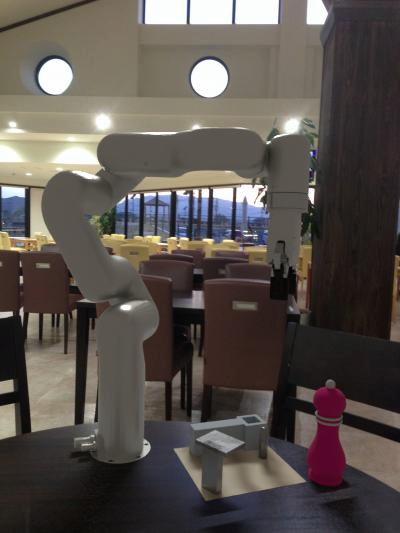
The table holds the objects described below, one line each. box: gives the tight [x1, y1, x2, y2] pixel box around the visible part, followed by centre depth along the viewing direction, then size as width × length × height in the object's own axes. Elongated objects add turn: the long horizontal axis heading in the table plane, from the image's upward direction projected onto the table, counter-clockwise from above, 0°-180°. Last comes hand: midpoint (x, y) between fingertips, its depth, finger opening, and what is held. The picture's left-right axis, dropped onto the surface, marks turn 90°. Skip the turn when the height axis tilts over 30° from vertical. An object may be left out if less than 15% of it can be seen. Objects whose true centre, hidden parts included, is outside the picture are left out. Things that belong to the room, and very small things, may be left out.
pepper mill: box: [306, 379, 347, 493], centre depth 84 cm, size 7×7×20 cm
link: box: [188, 413, 268, 457], centre depth 95 cm, size 16×5×6 cm, turn 110°
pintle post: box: [258, 425, 270, 459], centre depth 91 cm, size 2×2×8 cm
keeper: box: [195, 430, 245, 495], centre depth 81 cm, size 6×7×9 cm
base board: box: [173, 445, 307, 502], centre depth 88 cm, size 20×19×1 cm
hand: (283, 296), depth 84 cm, fingers open, 9 cm apart
